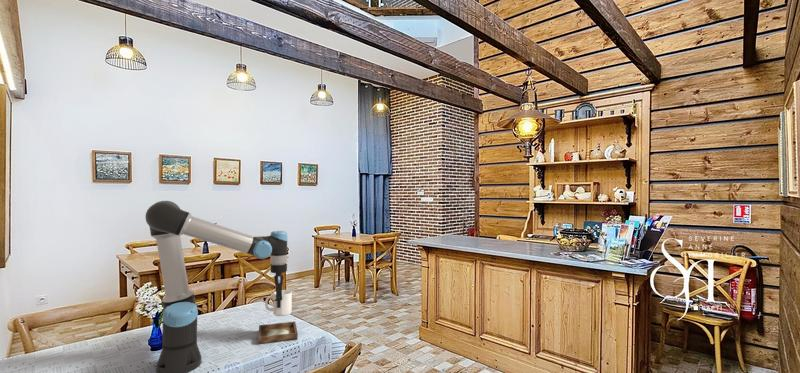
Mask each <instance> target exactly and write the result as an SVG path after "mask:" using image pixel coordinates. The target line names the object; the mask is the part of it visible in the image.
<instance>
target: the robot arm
mask: <svg viewBox="0 0 800 373" xmlns="http://www.w3.org/2000/svg"><path fill="white" fill-rule="evenodd" d="M145 221H146V224H147V225H148V226H149V233H150V237H151V238H154V239H155V241H156V247H157V252H158V259H159V264H160V270H161V277H162V281H163V287H164V295H165V296H164V297H163V298H162V299H161V302H162V309H163V312H162V315H161V316H162V317H161V318H162V319H161V321H162V338H161V340H162V345H161V346H162V347H161V348H162V349H161V352H160V355H159V357H158V359H157V362H156V369H155V371H156V373H188V372H191V371H193V370H195V369H197V368H198V367H200V366H201V364H202V354H201V351H200V348H199V346H198V316H199V311H198V306H197V303H196V299H195V298H196V297H195V292H194V291H193V290H191V289H190V287H189V286H190V285H189V281H188V276H187V269H186V263H185V257H184V256H185V255H184V251H183V250H184V249H183V245H182V238H181V236H182V235H185V236H189V237H192V238H195V239H199V240H201V241H205V242H208V243H212V244H215V245H217V246H221V247H225V248H227V249H231V250H234V251H238V252H240V253H244V254H248V255H250V256H253V257H255V258H257V259H260V260H265V259H268V257H270V259H269V260H270V261H269V262H270V271H269V272H270V273H271V274H275V275H274V276H273V278H274V279H273V280H274V286H275V291H274V292H276V299H275V300H274V299H273V302H274V301H276V315H279V314H282V290H283V284H284V282H283V280H284V275H283V273H286V272H288V264H287V262H288V259H289V256H288V232H287V231H284V230H274V231H271V232H270V235H266V236H264V235H263V236H254V235H253V236H252V235H249V234H247V233H243V232H240V231H238V230H234V229H232V228H228V227H225V226H223V225H219V224H216V223H213V222H210V221H207V220H204V219H201V218H199V217H195V216H192V214H191V212H189V211H186V210H183V209H181V208H180V206H179V205H178V204H177V203H176V202H173V201H170V200H161V201H160V200H159V201H157V202H155V203H153V204H151V206H150V207H148V209H147V210H146V212H145ZM279 297H280V298H279Z"/></svg>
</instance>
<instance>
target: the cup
mask: <svg viewBox="0 0 800 373" xmlns="http://www.w3.org/2000/svg"><path fill="white" fill-rule="evenodd" d="M292 293H293V292H292V290H289V289H282V314H279V315H276V301H274V300H275V299H276V292H275V291H274V292H273V295H268V296H267V297H266V298H265V302H264V304H265V308H266V311H269V312H273V315H274V316H276V317H286V316H289V315H290V314H291V313H292V308H293V307H292V306H293V305H292V304H293V303H292V299H293V294H292ZM279 298H280V297H279ZM270 299H273V302H272V303H273V307H269V305H268V302H269V300H270Z"/></svg>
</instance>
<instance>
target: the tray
mask: <svg viewBox="0 0 800 373" xmlns="http://www.w3.org/2000/svg"><path fill="white" fill-rule="evenodd" d="M298 335H299V334H298V329H297V324H296V321H287V322H278V323H268V324H259V325H258V336H257V337H258V339H257V340H258V342H257V343H258V345H265V344H272V343H273V344H274V343H281V341H283V342H291V341H296V340H299V338H298ZM290 340H291V341H290Z"/></svg>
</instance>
